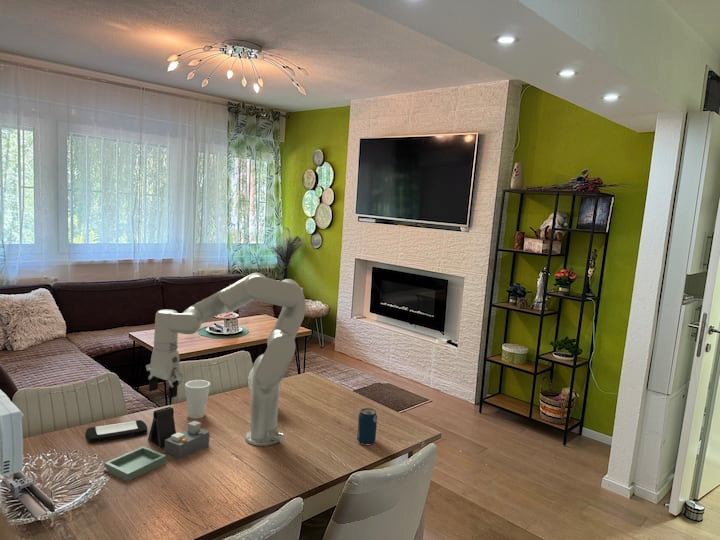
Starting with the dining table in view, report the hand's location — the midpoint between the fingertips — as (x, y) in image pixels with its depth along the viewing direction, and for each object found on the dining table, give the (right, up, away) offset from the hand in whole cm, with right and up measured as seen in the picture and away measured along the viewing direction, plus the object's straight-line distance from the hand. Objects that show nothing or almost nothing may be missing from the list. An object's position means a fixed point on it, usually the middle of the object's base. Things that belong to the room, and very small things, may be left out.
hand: (162, 393), depth 169 cm
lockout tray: (-2, -19, -15) cm, 25 cm away
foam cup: (+3, -15, +26) cm, 30 cm away
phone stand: (-1, -18, +2) cm, 18 cm away
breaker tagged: (+7, -16, -5) cm, 18 cm away
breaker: (+11, -14, +1) cm, 18 cm away
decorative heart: (+27, -16, +39) cm, 50 cm away
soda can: (+71, -22, +14) cm, 75 cm away
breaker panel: (+9, -19, -2) cm, 21 cm away
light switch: (-19, -16, +7) cm, 26 cm away
